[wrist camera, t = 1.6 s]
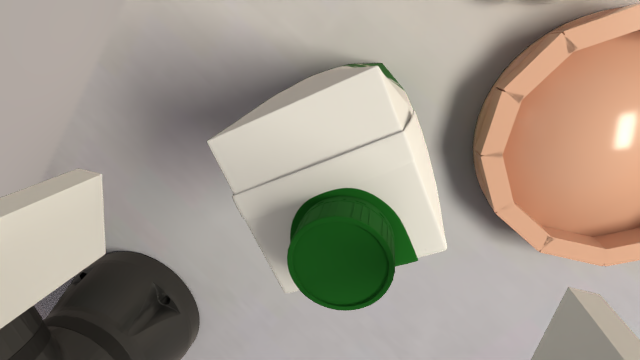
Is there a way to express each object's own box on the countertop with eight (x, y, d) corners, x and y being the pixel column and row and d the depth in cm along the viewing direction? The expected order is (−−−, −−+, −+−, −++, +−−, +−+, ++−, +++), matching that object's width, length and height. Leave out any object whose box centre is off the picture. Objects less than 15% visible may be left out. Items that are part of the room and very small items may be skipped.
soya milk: (333, 181, 34) (264, 341, 15) (292, 89, 31) (153, 142, 13) (426, 147, 31) (481, 290, 12) (388, 45, 29) (388, 32, 10)
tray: (445, 219, 33) (450, 234, 30) (519, -13, 26) (535, -21, 23) (670, 269, 31) (698, 290, 28) (815, 30, 24) (871, 27, 21)
